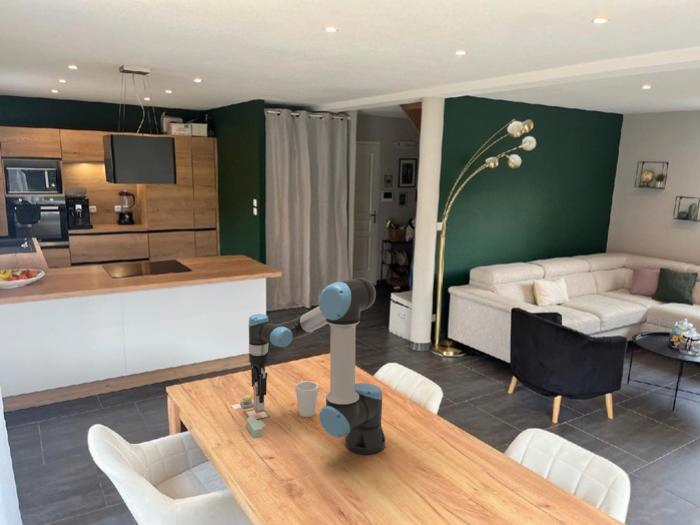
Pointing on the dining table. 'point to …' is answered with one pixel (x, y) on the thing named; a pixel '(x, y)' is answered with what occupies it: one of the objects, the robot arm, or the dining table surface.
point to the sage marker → (254, 427)
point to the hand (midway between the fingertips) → (259, 407)
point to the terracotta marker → (255, 391)
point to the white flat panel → (252, 411)
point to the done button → (247, 397)
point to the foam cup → (307, 398)
